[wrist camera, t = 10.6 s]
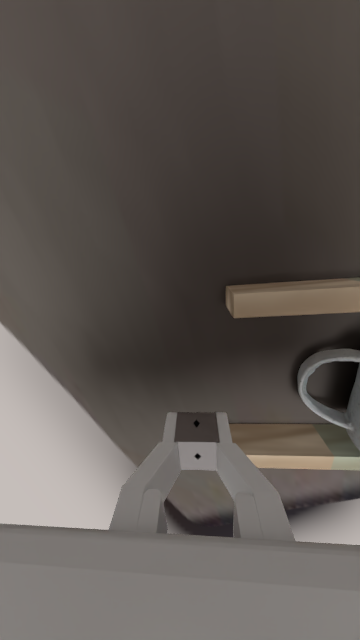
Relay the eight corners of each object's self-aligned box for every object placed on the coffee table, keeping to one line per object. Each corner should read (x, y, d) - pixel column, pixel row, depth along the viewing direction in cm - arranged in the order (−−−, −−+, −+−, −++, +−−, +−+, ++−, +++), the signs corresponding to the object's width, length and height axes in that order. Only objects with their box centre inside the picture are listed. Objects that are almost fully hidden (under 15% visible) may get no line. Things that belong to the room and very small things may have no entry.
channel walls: (225, 285, 14) (233, 294, 11) (437, 272, 13) (508, 277, 10) (225, 435, 19) (230, 467, 16) (377, 436, 17) (412, 471, 15)
